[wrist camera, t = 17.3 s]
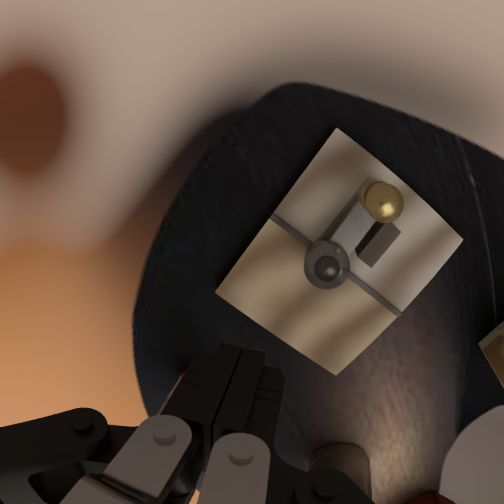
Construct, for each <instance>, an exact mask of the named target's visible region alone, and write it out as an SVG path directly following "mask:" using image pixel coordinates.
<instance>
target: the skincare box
mask: <svg viewBox="0 0 504 504" xmlns="http://www.w3.org/2000/svg"><path fill="white" fill-rule="evenodd" d="M478 344H479V346H480V348H481V350H482V351H483V353H484V355H485V356H486V358H487V360H488V361H489V363H490V365H491V367H492V368H493V370H494V372H495V373H496V375H497V377H498V379H499V381H500V382H501V384H502V386H503V388H504V321H503V322H502V323H501V324H499V325H498V326H497V327H496V328H495V329H494V330H493V331H492V332H490V333H489V334H488V335H487V336H486V337H485V338H484V339H483V340H481V341H480V342H479V343H478Z"/></svg>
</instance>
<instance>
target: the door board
mask: <svg viewBox="0 0 504 504" xmlns="http://www.w3.org/2000/svg"><path fill="white" fill-rule="evenodd" d="M370 178H377V179H380V180H382V181H384V182H386V183H389V184H391V185H393V186H395V187H396V188H397V189H399V191H400V192H401V194H402V196H403V199H404V208H403V211H402V213H401V215H400V216H399V218H397V219H396V220H395V221H393V222H390V223H380V222H378V221H375V222H374V224H373V225H372V226H371V228H370V229H369V230H368V232H367V233H366V234H365V236H364V237H363V238H362V240H361V241H360V242H359V244H358V245H357V246H356V248H355V249H354V250H353V252H352V253H351V254H350V255H349V261H350V273H349V276H348V278H347V279H346V281H345V282H344V283H343V284H341V285H340V286H338V287H336V288H333V289H320V288H317V287H315V286H313V285H312V284H311V283H310V282H309V281H308V280H307V278H306V276H305V273H304V259H305V253H306V250H307V248H308V247H309V246H310V244H312V243H313V242H314V241H316V240H318V239H321V238H328V236H329V235H330V234H331V232H332V231H333V230H334V228H335V227H336V226H337V224H338V223H339V221H340V220H341V219H342V217H343V216H344V215H345V213H346V212H347V210H348V209H349V208H350V206H351V205H352V203H353V202H354V201H355V199H356V198H357V196H358V189H359V187H360V185H361V184H362V183H363V182H364V181H365V180H367V179H370ZM462 241H463V239H462V238H461V237H460V236H459V235H458V234H457V233H456V232H455V231H454V230H453V229H452V228H451V227H450V226H449V225H448V224H447V223H446V222H445V221H444V220H443V219H442V218H441V217H440V216H439V215H438V214H437V213H436V212H435V211H434V210H433V209H432V208H431V207H430V206H429V205H428V204H427V203H426V202H425V201H424V200H423V199H422V198H421V197H420V196H418V195H417V194H416V193H415V192H414V191H413V190H412V189H411V188H410V187H409V186H407V185H406V184H405V183H404V182H403V181H402V180H401V179H400V178H398V177H397V176H396V175H395V174H394V173H393V172H391V171H390V170H389V169H388V168H387V167H386V166H384V165H383V164H382V163H381V162H380V161H378V160H377V159H376V158H375V157H374V156H372V155H371V154H370V153H369V152H367V151H366V150H365V149H364V148H362V147H361V146H360V145H359V144H357V143H356V142H355V141H353V140H352V139H351V138H350V137H348V136H347V135H346V134H344V133H343V132H342V131H340V130H339V129H338V128H336V129H335V130H334V132H333V133H332V135H331V136H330V137H329V139H328V140H327V141H326V143H325V144H324V145H323V147H322V148H321V149H320V151H319V152H318V153H317V155H316V156H315V157H314V159H313V160H312V161H311V163H310V164H309V165H308V167H307V168H306V169H305V171H304V172H303V173H302V175H301V176H300V178H299V179H298V180H297V182H296V183H295V184H294V186H293V187H292V188H291V190H290V191H289V192H288V194H287V195H286V196H285V198H284V199H283V200H282V202H281V203H280V205H279V206H278V207H277V209H276V210H275V211H274V213H273V214H272V215H271V217H270V218H269V219H268V221H267V222H266V223H265V225H264V226H263V228H262V229H261V230H260V232H259V233H258V234H257V236H256V237H255V238H254V240H253V241H252V242H251V244H250V245H249V246H248V248H247V249H246V251H245V252H244V253H243V255H242V256H241V257H240V259H239V260H238V261H237V263H236V264H235V266H234V267H233V268H232V270H231V271H230V272H229V274H228V275H227V276H226V278H225V279H224V281H223V282H222V283H221V285H220V286H219V287H218V289H217V290H216V292H215V293H216V294H218V295H219V296H220V297H222V298H223V299H224V300H226V301H227V302H229V303H230V304H231V305H233V306H234V307H236V308H237V309H238V310H240V311H241V312H243V313H244V314H245V315H247V316H248V317H250V318H251V319H253V320H254V321H255V322H257V323H258V324H260V325H261V326H263V327H264V328H265V329H267V330H268V331H270V332H271V333H273V334H274V335H276V336H277V337H278V338H280V339H281V340H283V341H284V342H286V343H287V344H289V345H290V346H292V347H293V348H295V349H296V350H298V351H299V352H301V353H302V354H304V355H305V356H307V357H308V358H310V359H311V360H313V361H314V362H316V363H317V364H319V365H320V366H322V367H323V368H325V369H326V370H328V371H329V372H331V373H333V374H334V375H337V374H338V373H339V372H341V371H342V370H343V369H344V368H345V367H346V366H347V365H348V364H349V363H351V362H352V361H353V360H354V359H355V358H356V357H357V356H358V355H359V354H360V353H361V352H362V351H363V350H364V349H365V348H366V347H368V346H369V345H370V344H371V343H372V342H373V341H374V340H375V339H376V338H377V337H378V336H379V335H380V334H381V333H382V332H383V331H384V330H385V329H386V328H387V327H388V326H389V325H390V324H391V323H392V322H393V321H394V320H395V319H396V317H398V318H399V317H400V316H401V315H402V313H401V312H402V311H403V310H404V309H405V308H406V307H407V306H408V305H409V304H410V303H411V301H412V300H413V299H414V298H415V297H416V296H417V295H418V294H419V293H420V291H421V290H422V289H423V288H424V287H425V286H426V285H427V284H428V282H429V281H430V280H431V279H432V278H433V277H434V275H435V274H436V273H437V272H438V271H439V269H440V268H441V267H442V266H443V265H444V263H445V262H446V261H447V260H448V259H449V257H450V256H451V255H452V254H453V252H454V251H455V250H456V249H457V247H458V246H459V245H460V243H461V242H462Z"/></svg>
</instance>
